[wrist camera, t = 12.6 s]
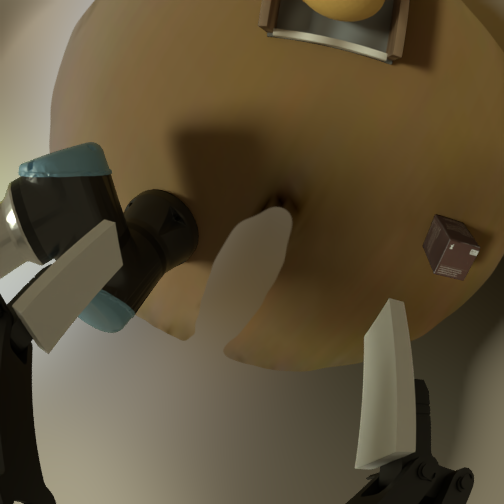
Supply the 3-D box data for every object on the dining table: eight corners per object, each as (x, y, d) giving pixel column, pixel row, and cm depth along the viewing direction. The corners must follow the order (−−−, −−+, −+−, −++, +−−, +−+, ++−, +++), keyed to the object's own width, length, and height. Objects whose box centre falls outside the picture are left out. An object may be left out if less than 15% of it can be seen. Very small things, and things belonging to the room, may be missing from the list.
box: (421, 245, 38) (432, 274, 32) (434, 212, 34) (449, 238, 29) (450, 253, 37) (463, 281, 31) (464, 222, 33) (481, 248, 28)
